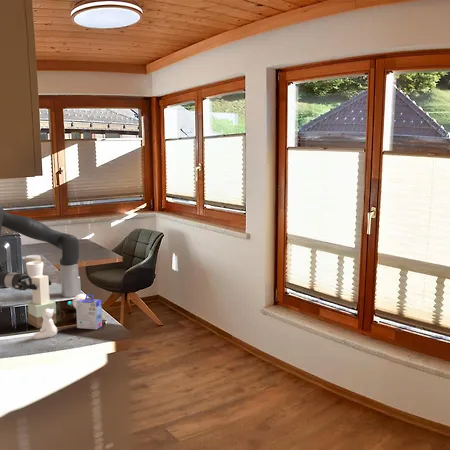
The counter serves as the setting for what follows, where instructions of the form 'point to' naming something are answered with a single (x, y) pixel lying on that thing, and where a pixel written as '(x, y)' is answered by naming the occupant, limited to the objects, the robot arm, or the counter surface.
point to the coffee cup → (32, 258)
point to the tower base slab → (38, 320)
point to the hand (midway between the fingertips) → (43, 285)
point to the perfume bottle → (76, 299)
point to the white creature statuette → (47, 325)
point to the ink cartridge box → (89, 313)
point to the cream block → (41, 289)
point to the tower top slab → (40, 308)
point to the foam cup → (34, 268)
